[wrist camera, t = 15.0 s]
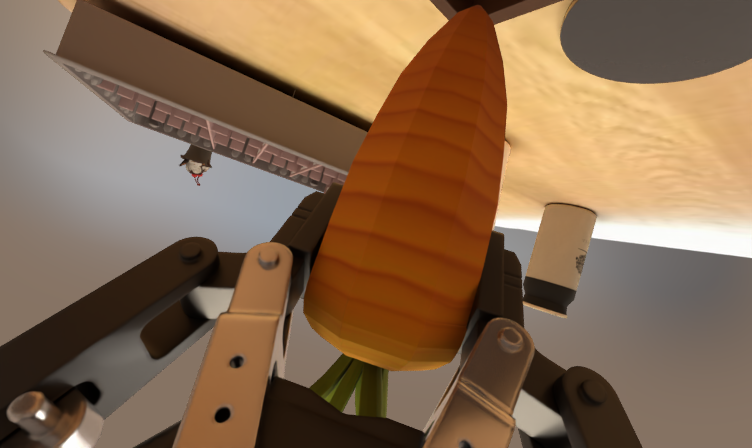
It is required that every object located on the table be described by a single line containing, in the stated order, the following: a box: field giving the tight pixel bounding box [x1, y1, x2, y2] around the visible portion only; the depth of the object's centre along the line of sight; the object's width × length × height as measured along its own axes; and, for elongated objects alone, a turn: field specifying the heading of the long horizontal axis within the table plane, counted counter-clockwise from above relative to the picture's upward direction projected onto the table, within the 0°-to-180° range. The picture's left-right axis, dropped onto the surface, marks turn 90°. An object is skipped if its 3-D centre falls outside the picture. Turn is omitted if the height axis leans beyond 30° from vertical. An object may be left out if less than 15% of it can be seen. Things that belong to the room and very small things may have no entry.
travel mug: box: [523, 204, 597, 318], centre depth 59 cm, size 8×8×18 cm
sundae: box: [180, 144, 212, 186], centre depth 80 cm, size 7×7×15 cm
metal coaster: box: [560, 0, 752, 84], centre depth 19 cm, size 10×10×1 cm
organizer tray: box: [43, 0, 368, 194], centre depth 56 cm, size 32×40×10 cm
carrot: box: [303, 5, 507, 418], centre depth 11 cm, size 5×5×15 cm
